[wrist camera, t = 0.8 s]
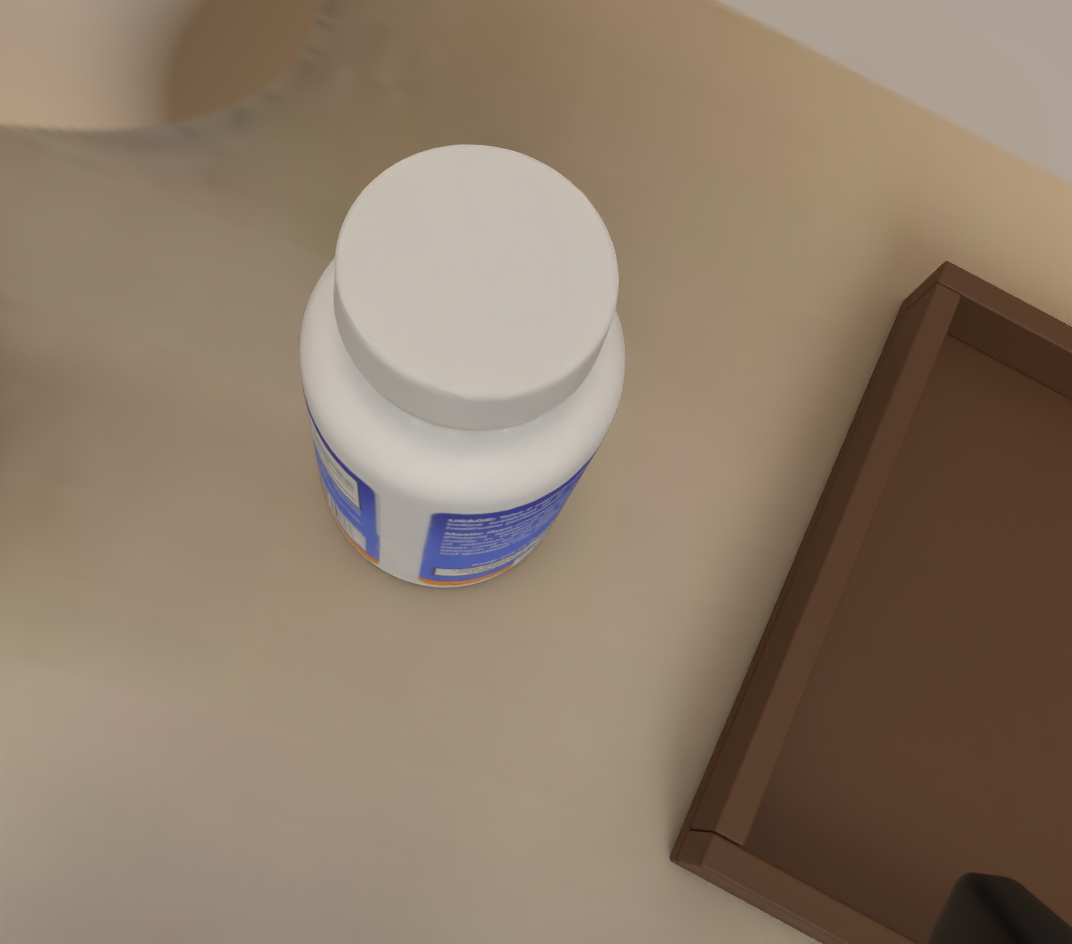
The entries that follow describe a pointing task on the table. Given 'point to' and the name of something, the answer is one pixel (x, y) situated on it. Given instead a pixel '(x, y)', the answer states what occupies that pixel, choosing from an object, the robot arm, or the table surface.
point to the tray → (915, 645)
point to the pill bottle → (461, 361)
